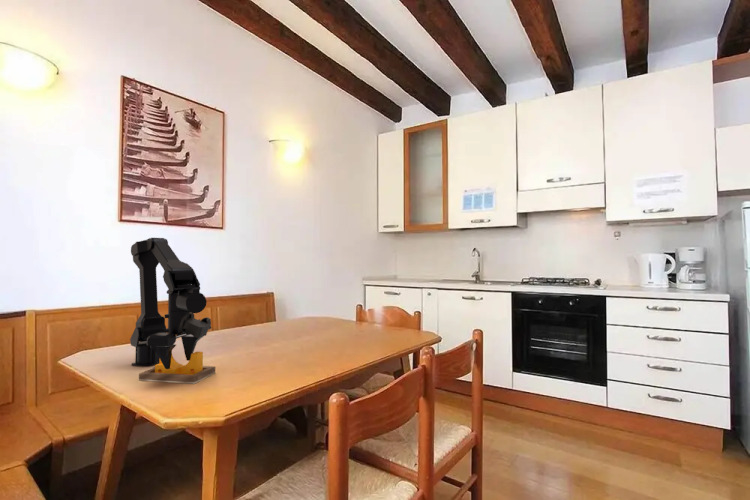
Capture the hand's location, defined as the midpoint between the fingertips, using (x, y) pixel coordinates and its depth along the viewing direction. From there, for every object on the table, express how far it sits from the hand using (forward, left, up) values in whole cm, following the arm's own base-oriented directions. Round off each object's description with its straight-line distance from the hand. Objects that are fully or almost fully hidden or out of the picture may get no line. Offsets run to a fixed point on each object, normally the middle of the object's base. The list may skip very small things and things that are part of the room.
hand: (178, 364), depth 112 cm
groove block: (0, 0, -4) cm, 4 cm away
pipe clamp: (0, 0, -3) cm, 3 cm away
